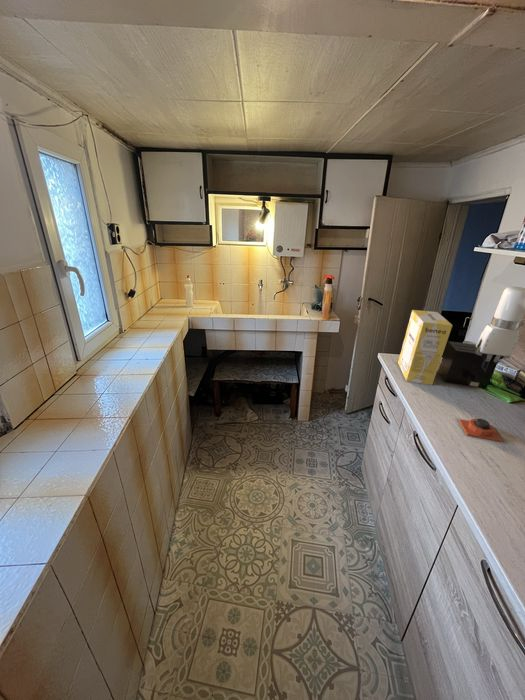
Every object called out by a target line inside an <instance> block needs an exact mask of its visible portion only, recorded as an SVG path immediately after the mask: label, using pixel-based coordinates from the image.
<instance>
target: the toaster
mask: <svg viewBox="0 0 525 700" xmlns="http://www.w3.org/2000/svg"><path fill="white" fill-rule="evenodd" d="M476 350H477V348H476V345H474V344H466V343H463V342H460V341H459V342H458V341H449V340H447V343H446V346H445V349H444V352H443V355H442V358H441V361H440V364H439V367H438V369H437V372H438V373H439V375H440V376H441V378H442V380H443V381H444V383H446V384H447V383H448V384H455V385H460V386H467V387H472V388H473V387H474V388H480V389H488V387H489V384H490V382H491V381H492V378H493V375H494V372H495V371H496V368H497V366H498V364H499V361H498V362H497V363H495V364H494V366H493V369H491V372H488V371H487V372H485V371H484V370H483V369H482V367H481V366H482V363H483V361H484V358H483V357H482V356H480V355H477V354H476V353H475V351H476ZM491 356H492V355H491ZM466 375H471V376H474V377H475V378H476V379H477V381H478V382H479V385H478V387H477V386H471V385H469V384H468V382H467V381H466V380H465V376H466Z"/></svg>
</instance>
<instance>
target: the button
mask: <svg viewBox="0 0 525 700" xmlns="http://www.w3.org/2000/svg"><path fill="white" fill-rule="evenodd" d="M476 419H477V420H476V423H475V425H476V426H477V427H479V428H482V429H486V430H487V429H488V428H489V426H490V425H491V423H490V422H489V421H488V420H486V419H484V418H476Z"/></svg>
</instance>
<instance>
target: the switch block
mask: <svg viewBox="0 0 525 700" xmlns="http://www.w3.org/2000/svg"><path fill="white" fill-rule="evenodd" d="M477 419H478V418H472V419H470V420H465V419H462V418H461V419H458V422H459V423H460V426H461V428H462V430H463V431H464V433H465V435H466V436H469V437H473V438H480V439H484V440H489V441H495V442H500V443H503V439H502V438H501V436H500V435H499V433H498V432H497V430H496V429H495V428H494V426H493V425H492V424H490V426H489V428H488V429H487V430H486V429H482V428H479V427H477V426H476V425H475V423H476V420H477Z"/></svg>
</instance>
